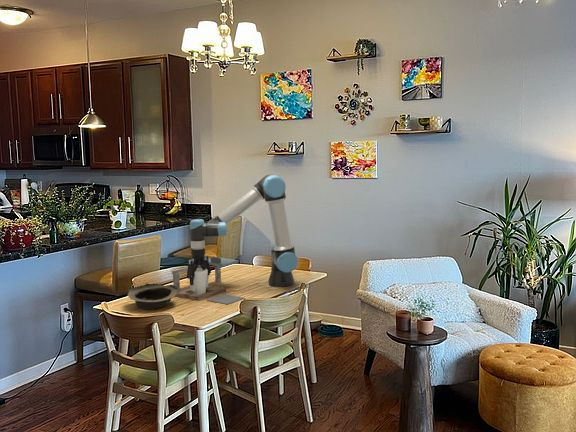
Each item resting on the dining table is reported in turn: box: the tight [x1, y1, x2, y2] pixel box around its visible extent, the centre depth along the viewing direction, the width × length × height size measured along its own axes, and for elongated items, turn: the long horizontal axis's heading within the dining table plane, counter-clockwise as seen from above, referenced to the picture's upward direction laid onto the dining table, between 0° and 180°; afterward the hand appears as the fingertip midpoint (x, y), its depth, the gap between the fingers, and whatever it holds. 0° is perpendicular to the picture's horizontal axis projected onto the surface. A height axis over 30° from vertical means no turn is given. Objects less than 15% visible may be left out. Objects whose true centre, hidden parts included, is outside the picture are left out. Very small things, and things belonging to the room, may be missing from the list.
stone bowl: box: [127, 283, 178, 311], centre depth 277 cm, size 25×25×9 cm
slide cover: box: [209, 256, 240, 268], centre depth 314 cm, size 18×14×4 cm
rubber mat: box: [206, 293, 246, 305], centre depth 287 cm, size 14×14×1 cm
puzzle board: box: [171, 265, 227, 302], centre depth 307 cm, size 22×39×14 cm, turn 146°
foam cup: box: [193, 267, 209, 295], centre depth 297 cm, size 10×9×13 cm
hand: (199, 288), depth 297 cm, fingers closed on foam cup, 9 cm apart
